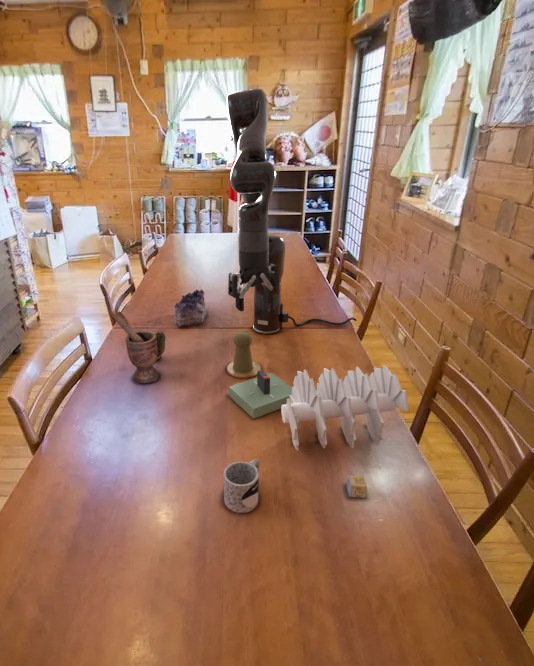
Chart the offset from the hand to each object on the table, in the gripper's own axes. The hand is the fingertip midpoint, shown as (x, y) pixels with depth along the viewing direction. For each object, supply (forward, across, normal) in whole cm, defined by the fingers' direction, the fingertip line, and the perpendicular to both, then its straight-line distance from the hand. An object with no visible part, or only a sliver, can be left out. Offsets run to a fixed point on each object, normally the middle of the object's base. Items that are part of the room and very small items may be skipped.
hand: (254, 306), depth 120 cm
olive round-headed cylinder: (+22, 0, -6) cm, 23 cm away
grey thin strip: (+22, +27, +36) cm, 50 cm away
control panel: (+22, +4, +10) cm, 25 cm away
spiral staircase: (+22, 0, +32) cm, 39 cm away
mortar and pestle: (+22, +28, -18) cm, 40 cm away
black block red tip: (+19, +4, +10) cm, 22 cm away
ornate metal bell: (+22, +19, -26) cm, 39 cm away
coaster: (+22, 0, -6) cm, 23 cm away
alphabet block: (+22, +8, +47) cm, 53 cm away
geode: (+23, -5, -48) cm, 54 cm away
